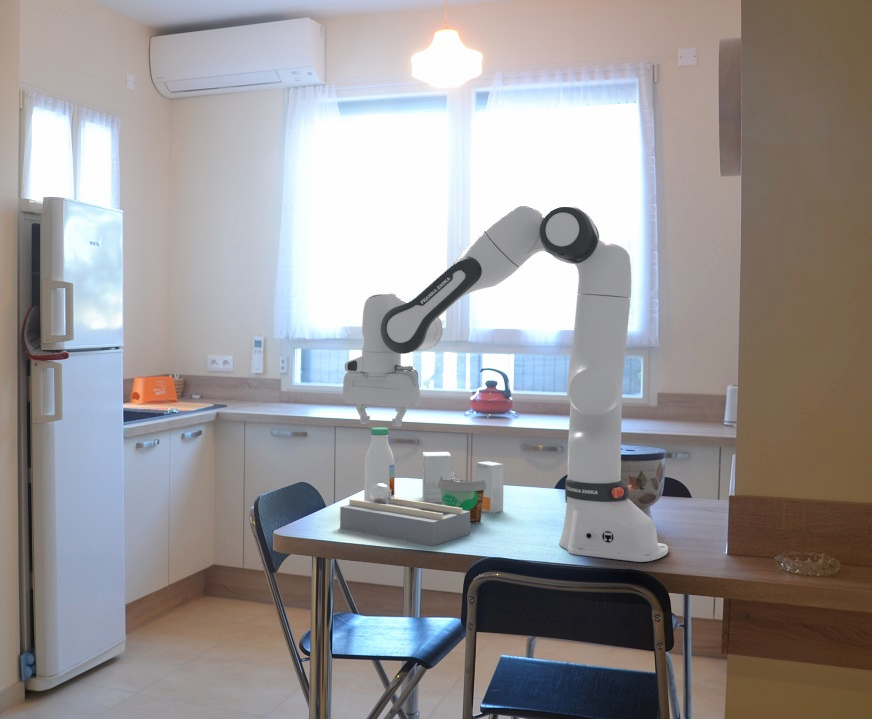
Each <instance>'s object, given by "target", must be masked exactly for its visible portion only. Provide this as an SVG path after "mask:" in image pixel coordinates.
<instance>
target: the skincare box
mask: <svg viewBox="0 0 872 719" xmlns="http://www.w3.org/2000/svg"><path fill="white" fill-rule="evenodd" d="M504 466H505V465H504V463H499V462H495V461H489V460H488V461H479V462H476V481H475V482H477V481H483V480H485V483H486V489H485V490H484V494H483V503H482V510H483V511H482V512H486V513H489V514H492V513H499V512H504V475H505V474H504V472H505V471H504V470H505V468H504Z"/></svg>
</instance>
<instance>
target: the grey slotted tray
mask: <svg viewBox="0 0 872 719" xmlns="http://www.w3.org/2000/svg"><path fill="white" fill-rule="evenodd" d="M339 514H340V517H339V518H340V519H339V524H340V525H339V527H340V529H345V530H350V531H355V532H359V533H365V534H369V535H376V536H380V537H386V538H389V539H394V538H395V540H400V541H404V540H406V541H405V542H409V541H410V543H414V542H415V544H419V543H420V545H426V546H429V547H430V546H432V547H434V546H438V545H440V544H444V543H446V542H450V541H452V540H455V538H456V539H458V537H459V538H461V537H460V536H462V537H464V536H463V535H465V536H467V535H466V534H468V535H470V534H471V524H470V511H465V510H462V508H458V507H451V506H445V505H442V504H438V503H432V502H424V501H417V500H411V499H406V498H405V499H404V498H398V497H397V498H396V497H394V498H391V499H390V501H389V502H388V503H387V504H379V503H373V502H372V501H371V499H370V500H367V501H364V500H360V499H354V498H353V499H352V498H351V499H349V502H348V504H347V505H342V506H339Z"/></svg>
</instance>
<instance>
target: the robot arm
mask: <svg viewBox="0 0 872 719" xmlns="http://www.w3.org/2000/svg"><path fill="white" fill-rule="evenodd" d="M539 252H546V253H548V254H550V255H551V256H552V257H553V258H554V259H556V260H558V261H561V262H564V263H568V264H570V265H571V264H574V265H575V267H576V268H577V273H578V285H577V286H578V287H577V296H576V306H575V316H574V318H575V319H574V328H573V335H572V336H573V337H572V342H571V349H570V350H571V351H570V357H569V358H570V359H569V366H568V373H567V374H568V375H567V381H566V383H567V384H566V395H567V398H568V401H569V403H570V404H569V406H570V407H569V409H570V410H569V420H568V421H569V424H568V439H567V441H568V442H567V477H566V478H565V487H564V488H565V489H564V490H565V491H564V492H565V494H564V497H565V498H564V499H565V500H564V501H565V503H566V504H565V505H566V506H565V516H564V522H563V527H562V531H561V535H560V539H559V541H558V545H559V546H560V547H562V548H564V549H565V550H567V552H568V553H569V554H570V555H576V556H577V555H578V556H587V557H595V558H603V559H613V560H618V561H619V560H621V561H626V562H627V561H629V562H635V563H637V562H639V563H643V562H645V563H646V562H652V561H654V560H655V561H656V560H658V559H660V558H661V559H662V557H664V556H666V555H667V554H668V553H669V546H668V545H667V544H666V543H660V542H658V535H657V534H658V533H657V528H656V525H655V522H654V520H653V519H652V518H651V517H650V516H648V515H647V514H646V513H645V512H644V511H643V510H641V508H639V507H638V506H637V505H636V504H634V502H633V501H631V500H630V498H629V495H630V494H629V491H632V486H633V485H632V484H629V485H627V484H626V483H625V482H624V481H623V479H622V478H621V476H622V475H621V471H622V469H621V467H622V416H623V415H622V413H623V411H622V410H623V378H624V368H625V357H626V351H627V350H626V348H627V338H628V329H629V318H630V309H631V308H630V307H631V306H630V305H631V297H632V296H631V295H632V266H631V265H632V264H631V257H630V255H629V253H628V251H627V249H626V248H624V247H622V246H621V245H618V244H615V243H613V242H611V243H610V242H603V241H602V240H601V239H600V232H599V230H598V227H597V226H596V224H595V222H594V221H593V219H592V217H590V215H588V214H587V213H586V212H584V211H583V210H582V209H580V208H578V207H576V206H574V205H560V206H557V207H554V208H552V209H551V210H549V211H548V212H547V213H546V214H545V215H544V214H542V213H541V211H539V210H538V209H537V208H535V207H533V206H531V205H529V204H523V203H522V204H518V205H516V206H514V207H512V208H511V209H509V210H507V211H506V212H504V213H503V214H502V215H501V216H500V217H498V218H497V219H495V221H494V222H492V223H491V224H490V225H489V226H487V228H486V229H484V230H483V232H481V233H480V234H479V235H478V236H477V238H476V239H474V241H473V242H472V243H471V244H470V245H469V246H468V247H467V248H466V249H465V251H464V252H463V253H462V254H461V255H460V256H459V257H458V258H457V259H456V260H455V261H454V262H453V264H452V265H451V266H449V268H447V269H446V270H445V271H444V272H443V273H442V274H440V275H439V276H438V277H437V278H436V279H435V280H434V281H433V282H431V283H430V284H429V285H428V286H427V287H426V288H425V289H424V290H423V291H421V292H420V293H419V294H418V295H416V297H414V298H413V299H412V300H410V301H407V300H406V299H404V298H403V297H401V296H400V295H399V294H398V293H395V292H385V293H383V292H381V293H378V294H374V295H371V296H369V297H368V298H366V300H365V302H364V306H363V311H362V312H363V313H362V322H361V323H362V326H361V328H362V329H361V333H362V338H363V345H362V348H361V351H362V352H361V356H359V357H356V358H354V359H352V360H348V361H347V362H345V363H344V371H345V372H346V373H345V374H344V377H343V384H342V385H343V387H342V397H343V399H344V402H345V403H347V404H356V405H355V406H356V407H355V408H356V411H357V413H358V415H359V417H360V418H359V421H360V422H359V423H360V424H362V425H363V424H365V425H367V424H370V422H371V415H368V414H367V411H366V408H367V406H368V405H369V406H371V405H372V406H383V407H395V412H397V413H396V416H395V417H394V418H392V420H391V423H392V424H391V426H392V427H393V428H394V427H395V428H400V427H402V426H403V418H404V416H405V415H406V413H407V408H408V409H409V408H417V407H418V406H419V405H420V403H421V391H420V385H419V384H420V382H419V372H418V370H417V369H415V368H414V366H412V365H402V364H401V362H402V359H401V358H402V355H403V354H409V353H412V352H419V351H426V350H428V349H431V348H433V347H435V346H436V345H438V343H439V341H440V340H441V338H442V335H443V323H442V321H441V319H440V317H441V315H443V314H444V313H445V312H446V311H447V310H448V309H450V308H451V307H452V305H454V304H455V303H456V302H457V301H459V300H460V299H462V298H463V297H464V296H466V295H468V294H471V293H473V292H475V291H479V290H483V289H488V288H491V287H494V286H495V287H496V286H497V285H498V284H500V283H502V282H503V281H505V280H506V279H508V278H509V277H511V276H512V275H513V274H514V273H515V272H516V271H518V270H519V268H520V267H522V266H523V265H524V264H525V262H527V261H528V260H529V259H530V258H531V257H532V256H533V255H535V254H537V253H539Z"/></svg>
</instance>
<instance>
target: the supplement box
mask: <svg viewBox="0 0 872 719" xmlns="http://www.w3.org/2000/svg"><path fill="white" fill-rule="evenodd" d="M451 467H452V455H451V453H450V452H449V451H423V452H422V500H423V499H424V500H423V502H425V503H441V493H440V488H438V487H437V485H438V480H439V479H440V477H441V476H442V477H443V480H449V481H451V478H452V474H451V473H452V468H451Z"/></svg>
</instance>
